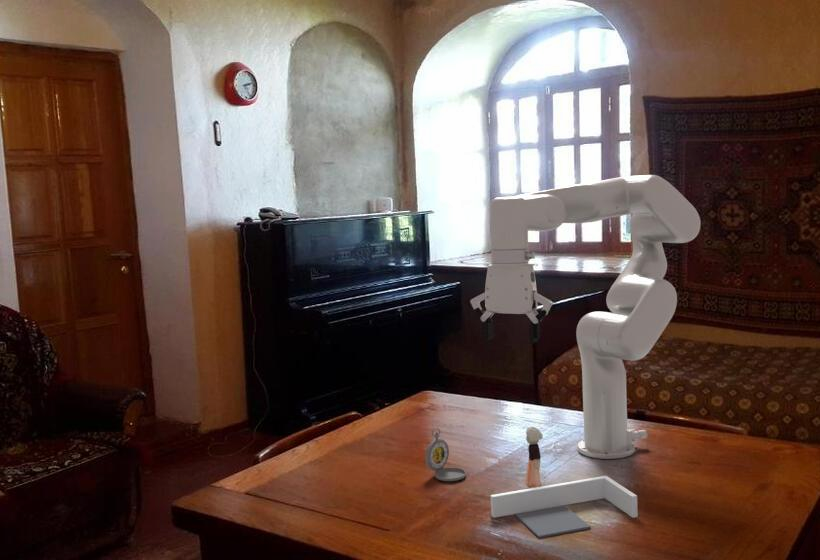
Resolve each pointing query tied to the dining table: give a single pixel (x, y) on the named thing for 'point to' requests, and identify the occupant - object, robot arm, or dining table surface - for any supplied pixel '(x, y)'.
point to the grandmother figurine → (533, 458)
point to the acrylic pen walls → (564, 496)
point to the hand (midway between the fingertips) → (511, 340)
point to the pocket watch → (442, 460)
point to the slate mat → (552, 521)
